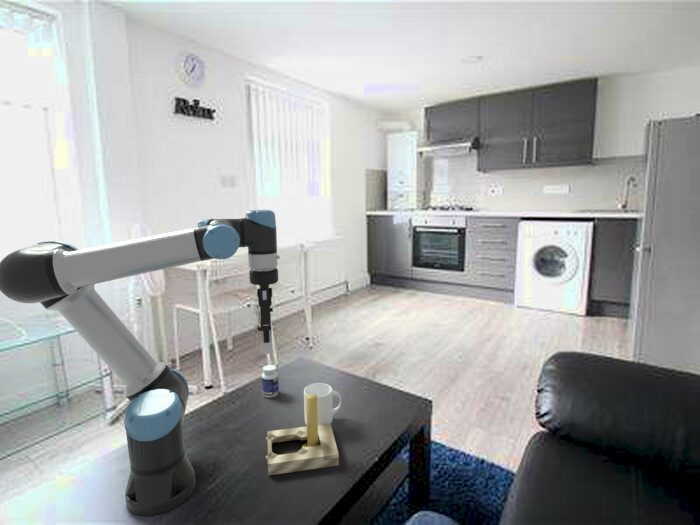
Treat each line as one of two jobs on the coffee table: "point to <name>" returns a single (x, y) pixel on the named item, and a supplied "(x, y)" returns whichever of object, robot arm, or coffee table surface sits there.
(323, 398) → the mug
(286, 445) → the coffee table surface
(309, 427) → the headed peg
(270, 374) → the pill bottle
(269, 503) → the coffee table surface
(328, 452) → the keyhole board
